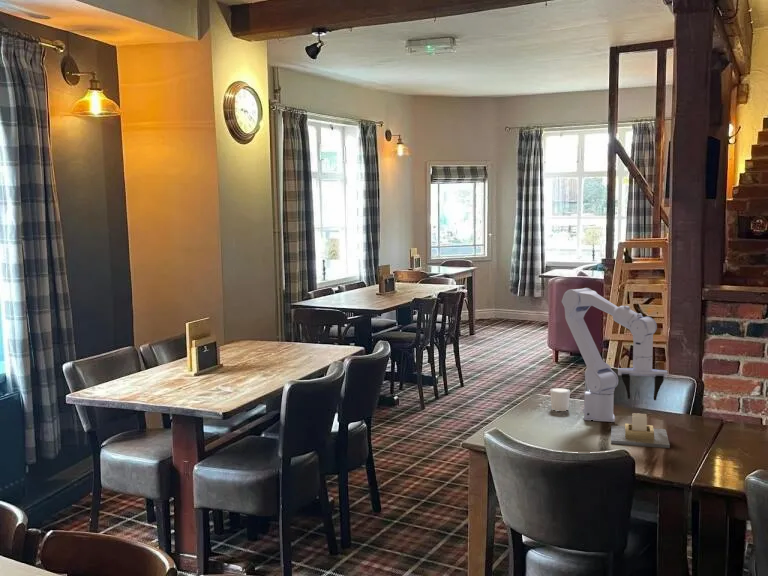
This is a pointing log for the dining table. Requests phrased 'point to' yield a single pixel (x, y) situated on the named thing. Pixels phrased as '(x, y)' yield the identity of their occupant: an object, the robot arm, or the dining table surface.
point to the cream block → (639, 422)
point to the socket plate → (639, 436)
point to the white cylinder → (560, 398)
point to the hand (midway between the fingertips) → (641, 398)
